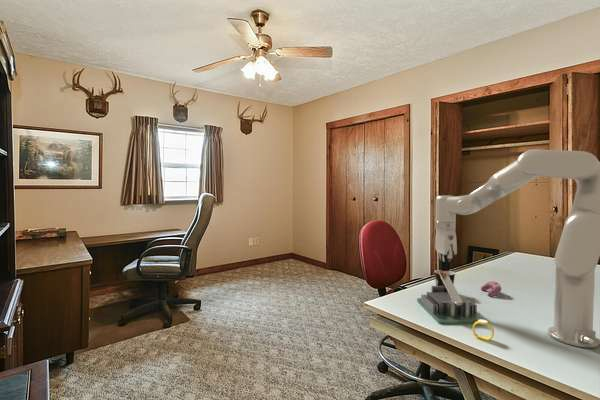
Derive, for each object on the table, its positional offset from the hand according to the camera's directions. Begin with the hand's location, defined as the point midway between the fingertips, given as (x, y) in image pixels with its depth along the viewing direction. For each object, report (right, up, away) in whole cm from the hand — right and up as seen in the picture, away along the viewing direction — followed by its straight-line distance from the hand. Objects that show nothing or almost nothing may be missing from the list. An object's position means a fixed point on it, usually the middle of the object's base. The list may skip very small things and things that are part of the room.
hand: (444, 270), depth 128 cm
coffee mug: (+7, -15, +16) cm, 23 cm away
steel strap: (0, -6, -4) cm, 7 cm away
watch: (+1, -17, -25) cm, 30 cm away
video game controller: (+30, -15, +17) cm, 37 cm away
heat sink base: (0, -16, -3) cm, 16 cm away
